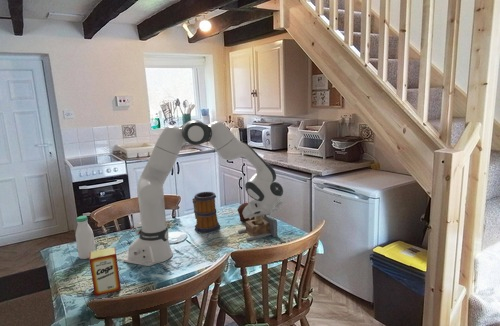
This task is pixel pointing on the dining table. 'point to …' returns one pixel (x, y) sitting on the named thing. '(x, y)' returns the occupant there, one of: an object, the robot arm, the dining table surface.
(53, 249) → the dining table surface
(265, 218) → the backstop
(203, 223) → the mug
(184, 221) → the dining table surface
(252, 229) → the socket block
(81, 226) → the milk bottle
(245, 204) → the muffin
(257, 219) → the dowel
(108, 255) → the baking soda box
